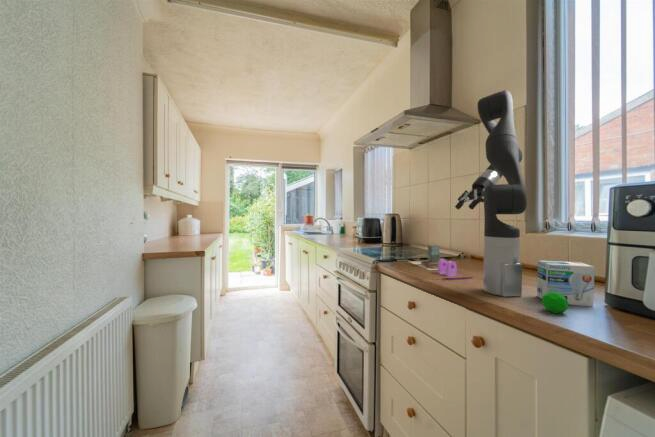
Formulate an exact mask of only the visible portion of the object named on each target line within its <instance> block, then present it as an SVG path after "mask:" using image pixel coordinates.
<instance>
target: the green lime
mask: <svg viewBox="0 0 655 437" xmlns="http://www.w3.org/2000/svg"><path fill="white" fill-rule="evenodd" d="M541 303H542V305H543V307H544V308H545V310H546V311H549V312H551V313H552V312H553V314H562V313H565V312H566V311H567V310H568V308H569V304H568V302H567V300H566V298H565V297H564V296H563V295H561V294H560V293H556V292H549V293H546V294H545V295H544V296H543V298H542V299H541Z"/></svg>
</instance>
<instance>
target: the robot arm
mask: <svg viewBox="0 0 655 437" xmlns="http://www.w3.org/2000/svg"><path fill="white" fill-rule="evenodd" d="M477 112H478V116H479V119H480V121H481V123H482V125H483V126H484V128H485V130H486V131H487V132H488V136H487V138H486V140H485V143H484V144H485V157H486V160H487V161H488V163H489V165H488V166H487V168H486V169H485V170H484V171H483V172H482V173H480V174H479V176H478V177H477V178H476V179H475V181H474V182H473V183H472V185H471V189H470V190H469V191H468V189H467V190H464V192H463V193H462V194H461V195H459V197H458V198H457V201H458V202H457V203H456V205H455V206H454V207H455V208H456V210H461V208H462V207H463V206H464V205H465V204H466V203H469V202H470V204H468V208H469V209H470V210H474V208H476V206H478V205H479V204H480V203H483V209H484V211H483V213H484V215H483V216H484V228H483V229H484V232H483V234H484V235H483V237H484V238H483V278H482V279H483V282H482V283H483V291H484V293H488V294H492V295H495V296H496V295H497V296H501V297H506V298H507V297H520V296H522V294H523V293H522V292H523V291H522V290H523V289H522V288H523V263H520V246H521V245H520V242H521V240H520V238H521V237H520V236H521V229H520V228H519V227H517V226H514V225H510V224H507V223H505V222H503V221H502V220H500V219H499V218H498V217H497V215H521V214H524V212H525V211H526V210H527V205H528V197H527V190H526V186H525V181H524V177H523V174H522V168H521V162H522V160H523V152H522V150H521V148H520V147H519V144H518V143H519V142H518V138H517V137H518V136H517V132H516V129H515V127H516V126H515V119H514V118H515V117H514V116H515V115H514V114H515V113H514V100H513V96H512V93H511V92H510V90H507V89H506V90H505V89H504V90H500V91H497V92H495V93H492V94H490V95H487V96H485V97H482V98H480V99H479V100H478V101H477ZM498 119H499V120H498ZM495 120H498V122H496V121H495ZM502 177H504V178H505V181H507V183H505V184H504V183H503V184H502V183H501V184H500V183H499V181H500V179H501V178H502ZM498 183H499V184H498Z"/></svg>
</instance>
